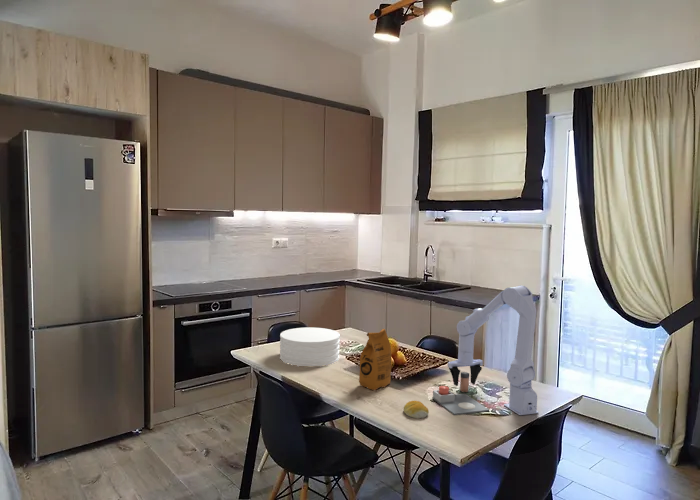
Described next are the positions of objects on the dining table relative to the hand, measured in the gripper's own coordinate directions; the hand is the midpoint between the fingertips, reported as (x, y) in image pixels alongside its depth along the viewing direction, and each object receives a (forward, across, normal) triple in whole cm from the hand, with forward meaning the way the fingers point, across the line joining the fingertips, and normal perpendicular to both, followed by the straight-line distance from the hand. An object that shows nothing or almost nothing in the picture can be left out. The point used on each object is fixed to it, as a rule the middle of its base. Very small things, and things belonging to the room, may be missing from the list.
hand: (464, 384), depth 193 cm
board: (+3, +9, +12) cm, 15 cm away
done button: (+1, +13, +7) cm, 15 cm away
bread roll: (+3, +28, +15) cm, 32 cm away
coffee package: (+3, +32, -15) cm, 35 cm away
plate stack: (+3, +49, -57) cm, 75 cm away
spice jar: (+3, 0, 0) cm, 3 cm away
